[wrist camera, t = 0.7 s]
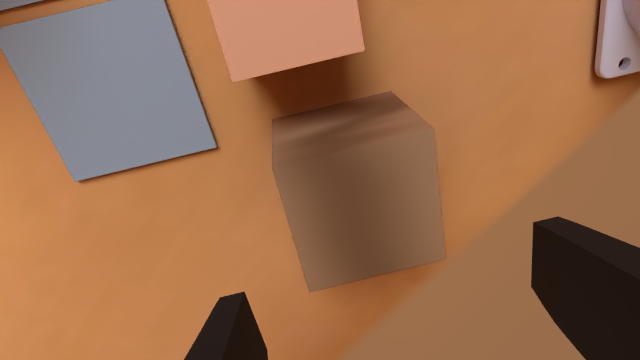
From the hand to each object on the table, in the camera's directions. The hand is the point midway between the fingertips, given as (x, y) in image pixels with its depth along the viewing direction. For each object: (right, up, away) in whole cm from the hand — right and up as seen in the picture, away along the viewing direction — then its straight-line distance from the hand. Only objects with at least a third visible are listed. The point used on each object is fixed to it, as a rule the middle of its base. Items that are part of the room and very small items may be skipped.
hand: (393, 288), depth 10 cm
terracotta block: (-3, +10, +5) cm, 11 cm away
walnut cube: (-1, +4, +8) cm, 9 cm away
